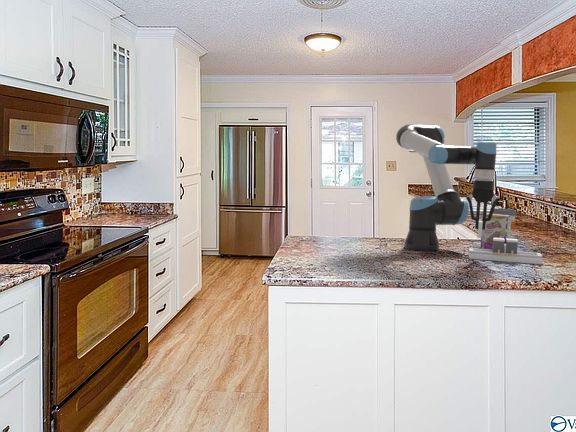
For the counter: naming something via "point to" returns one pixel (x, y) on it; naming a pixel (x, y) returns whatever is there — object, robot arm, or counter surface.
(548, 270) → the counter surface
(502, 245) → the left tab
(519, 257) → the switch bank
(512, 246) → the right tab
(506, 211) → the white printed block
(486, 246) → the candy bar box
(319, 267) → the counter surface
